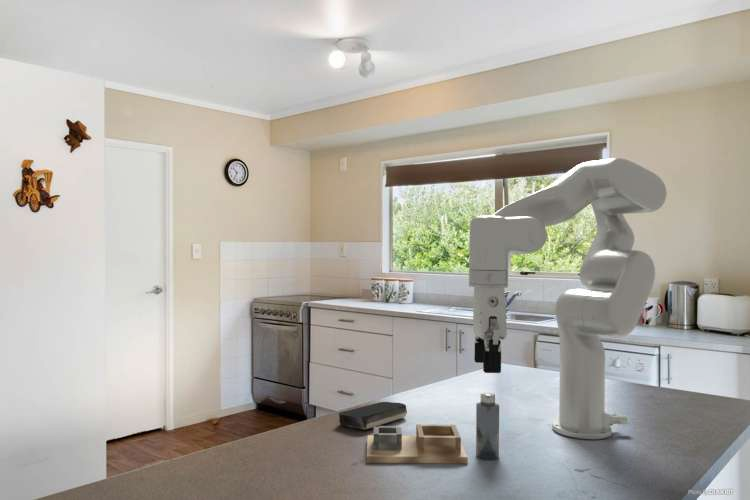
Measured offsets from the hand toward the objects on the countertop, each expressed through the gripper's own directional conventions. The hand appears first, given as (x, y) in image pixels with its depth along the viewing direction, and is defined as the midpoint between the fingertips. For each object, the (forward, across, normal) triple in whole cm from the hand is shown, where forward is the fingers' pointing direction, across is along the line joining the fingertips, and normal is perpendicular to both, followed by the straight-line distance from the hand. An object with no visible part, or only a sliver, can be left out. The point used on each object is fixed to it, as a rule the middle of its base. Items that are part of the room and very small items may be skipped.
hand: (487, 367), depth 112 cm
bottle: (+17, 0, 0) cm, 17 cm away
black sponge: (+18, +22, +22) cm, 36 cm away
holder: (+18, +2, +14) cm, 22 cm away
